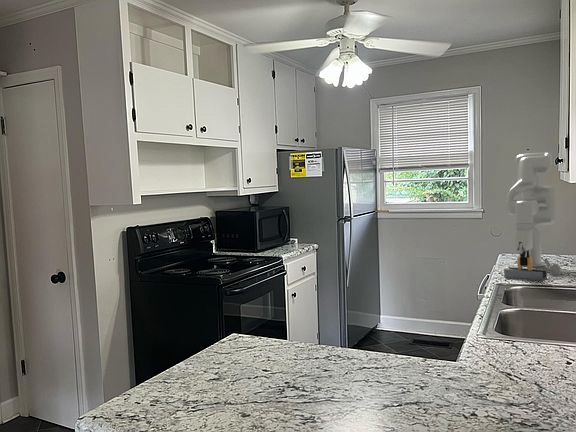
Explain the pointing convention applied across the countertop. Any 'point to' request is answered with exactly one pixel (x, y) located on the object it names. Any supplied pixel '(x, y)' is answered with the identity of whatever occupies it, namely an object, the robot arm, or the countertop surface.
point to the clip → (530, 263)
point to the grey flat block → (525, 274)
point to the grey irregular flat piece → (553, 268)
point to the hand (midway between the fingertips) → (525, 264)
